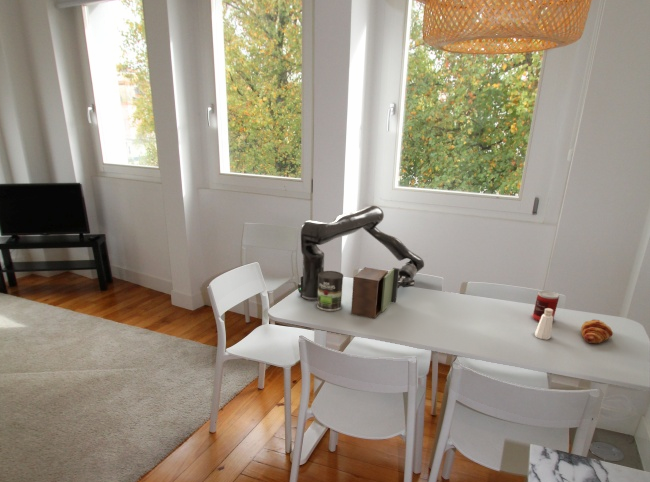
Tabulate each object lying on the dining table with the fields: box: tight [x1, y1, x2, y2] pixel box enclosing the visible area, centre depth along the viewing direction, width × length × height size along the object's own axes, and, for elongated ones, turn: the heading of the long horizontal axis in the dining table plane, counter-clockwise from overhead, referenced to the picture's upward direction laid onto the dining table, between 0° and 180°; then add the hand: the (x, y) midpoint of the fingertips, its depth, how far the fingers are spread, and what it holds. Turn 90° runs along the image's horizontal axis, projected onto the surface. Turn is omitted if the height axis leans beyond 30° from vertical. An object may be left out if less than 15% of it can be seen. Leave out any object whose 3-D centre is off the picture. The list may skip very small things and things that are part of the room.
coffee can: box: [316, 270, 344, 312], centre depth 194 cm, size 10×10×14 cm
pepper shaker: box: [534, 308, 554, 341], centre depth 172 cm, size 5×5×11 cm
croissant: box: [580, 319, 614, 344], centre depth 174 cm, size 21×10×8 cm, turn 141°
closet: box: [350, 267, 389, 320], centre depth 191 cm, size 10×14×16 cm
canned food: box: [532, 290, 560, 323], centre depth 187 cm, size 8×8×11 cm
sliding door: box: [380, 267, 400, 313], centre depth 194 cm, size 3×14×15 cm, turn 155°
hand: (394, 286), depth 201 cm, fingers closed
